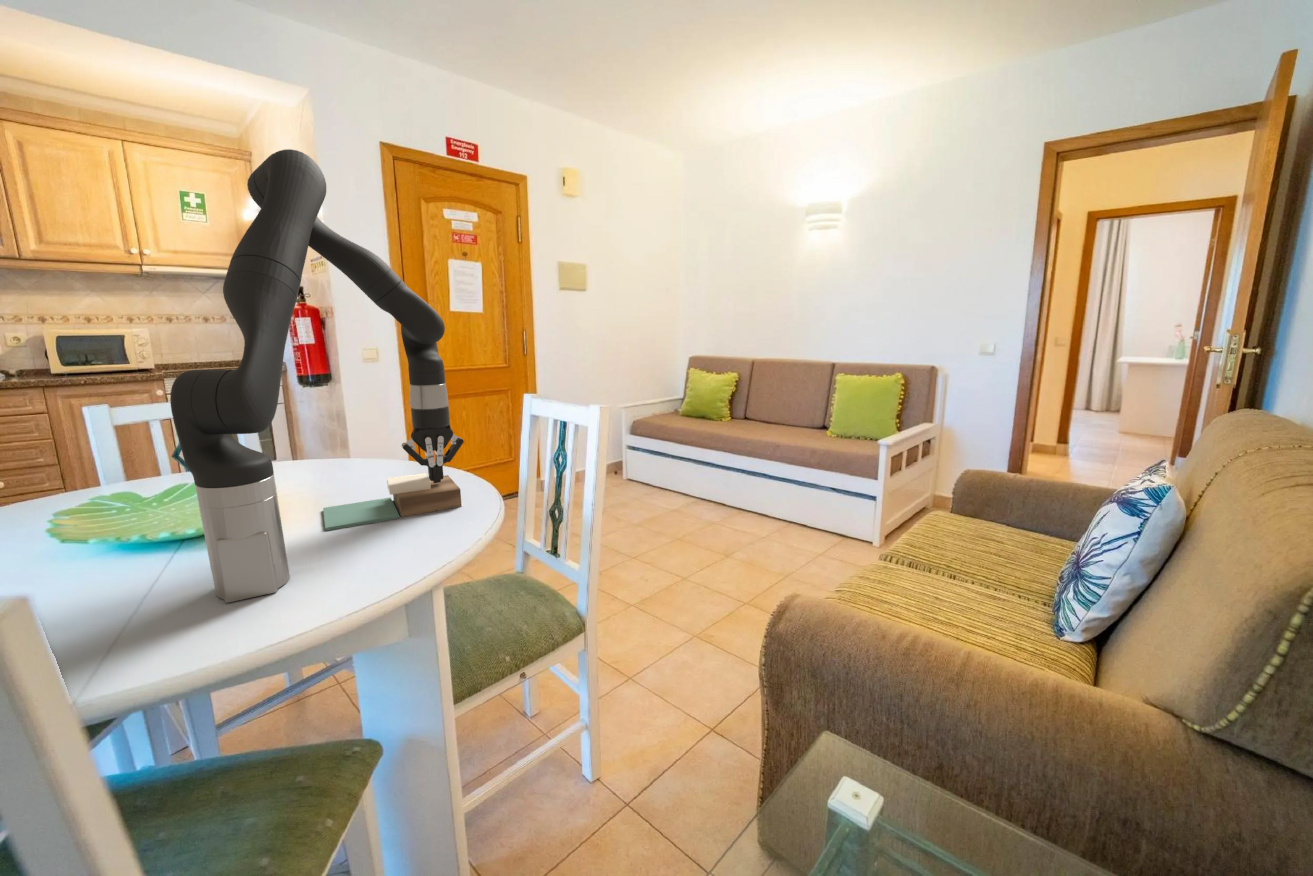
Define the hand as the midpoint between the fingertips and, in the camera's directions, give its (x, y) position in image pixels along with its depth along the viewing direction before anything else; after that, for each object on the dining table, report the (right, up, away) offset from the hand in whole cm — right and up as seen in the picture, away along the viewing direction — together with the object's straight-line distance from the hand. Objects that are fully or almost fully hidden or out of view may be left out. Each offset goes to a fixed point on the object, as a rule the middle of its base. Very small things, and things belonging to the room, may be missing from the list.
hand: (436, 481), depth 118 cm
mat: (-13, -6, -7) cm, 16 cm away
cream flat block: (-5, -1, -2) cm, 6 cm away
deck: (-2, -5, 0) cm, 5 cm away
